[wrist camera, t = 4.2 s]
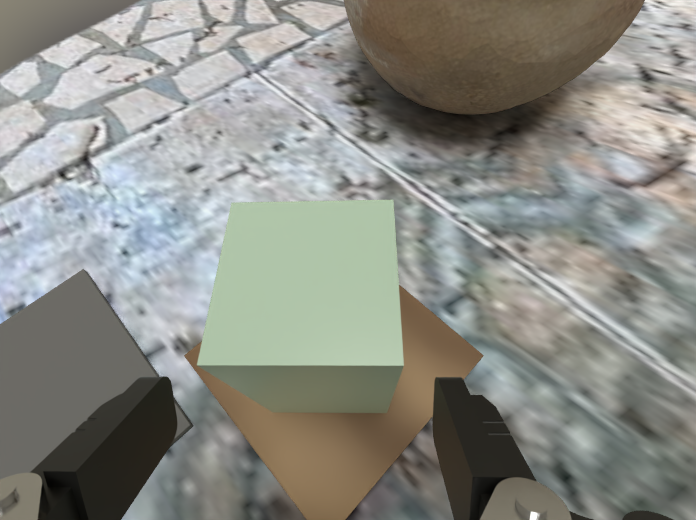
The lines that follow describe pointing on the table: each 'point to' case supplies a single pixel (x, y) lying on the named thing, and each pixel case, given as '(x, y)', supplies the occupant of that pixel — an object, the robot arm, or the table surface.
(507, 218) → the table surface
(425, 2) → the ceramic bowl
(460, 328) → the table surface
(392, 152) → the table surface
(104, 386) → the mat
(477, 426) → the robot arm
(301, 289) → the sage green tall block
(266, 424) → the peg stand
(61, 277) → the table surface
